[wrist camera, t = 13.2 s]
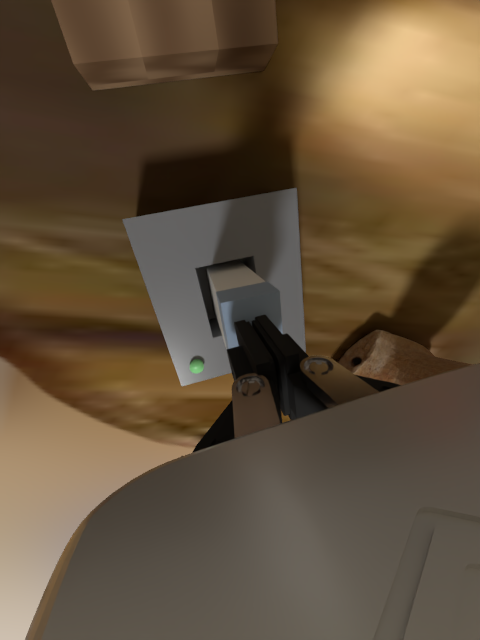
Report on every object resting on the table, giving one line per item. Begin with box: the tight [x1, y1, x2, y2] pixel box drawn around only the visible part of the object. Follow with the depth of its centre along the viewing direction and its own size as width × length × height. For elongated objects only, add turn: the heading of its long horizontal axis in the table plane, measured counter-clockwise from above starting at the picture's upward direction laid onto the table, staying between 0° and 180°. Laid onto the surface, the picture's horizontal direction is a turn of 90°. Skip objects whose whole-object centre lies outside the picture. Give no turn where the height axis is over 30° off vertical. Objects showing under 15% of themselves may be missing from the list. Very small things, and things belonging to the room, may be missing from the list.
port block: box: [122, 188, 306, 386], centre depth 21 cm, size 12×14×5 cm
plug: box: [206, 259, 283, 349], centre depth 17 cm, size 3×5×11 cm
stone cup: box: [338, 330, 472, 385], centre depth 25 cm, size 15×12×15 cm
